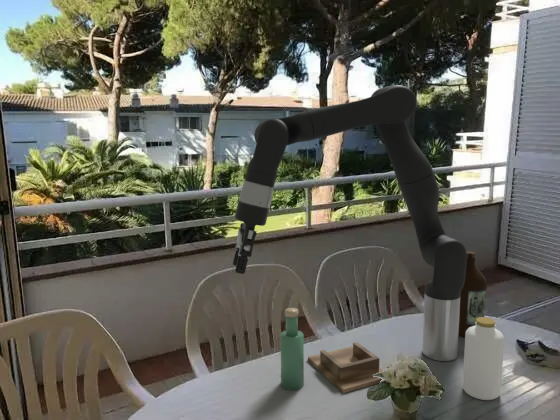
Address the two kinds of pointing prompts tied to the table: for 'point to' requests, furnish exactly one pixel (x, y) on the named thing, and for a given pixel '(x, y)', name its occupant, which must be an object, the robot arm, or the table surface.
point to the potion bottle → (483, 360)
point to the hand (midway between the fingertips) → (238, 269)
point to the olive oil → (471, 296)
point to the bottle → (292, 353)
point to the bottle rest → (348, 367)
